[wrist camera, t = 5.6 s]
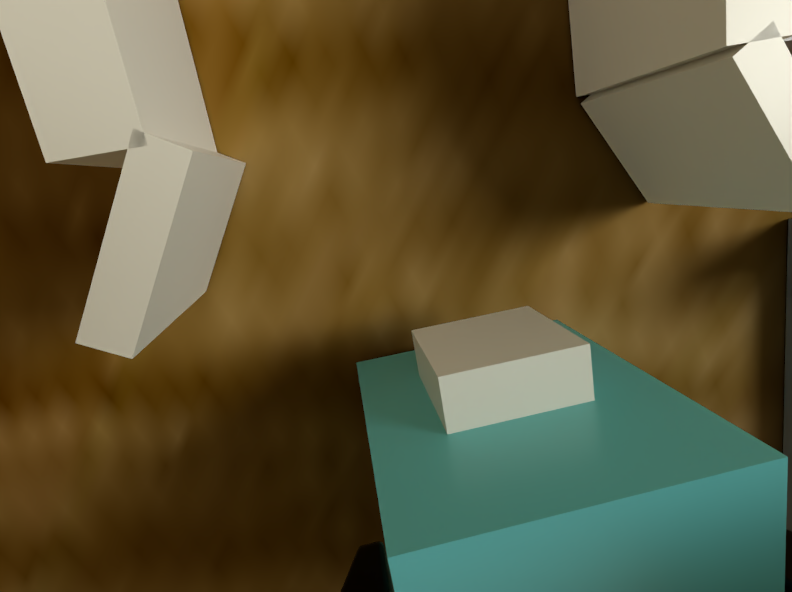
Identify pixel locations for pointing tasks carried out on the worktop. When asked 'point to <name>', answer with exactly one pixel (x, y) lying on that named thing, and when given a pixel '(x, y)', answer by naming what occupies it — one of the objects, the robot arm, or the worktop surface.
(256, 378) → the worktop surface
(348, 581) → the robot arm
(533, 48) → the worktop surface
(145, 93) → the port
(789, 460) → the grey rectangular frame stand
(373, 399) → the plug
